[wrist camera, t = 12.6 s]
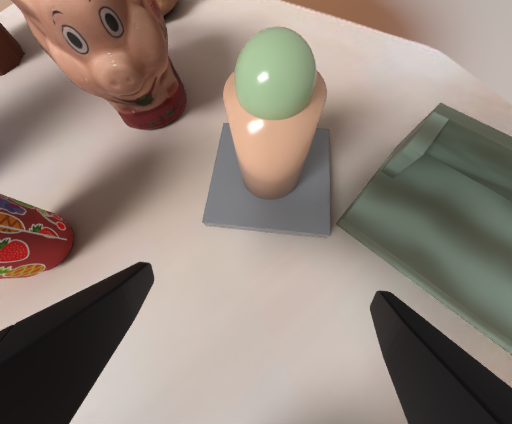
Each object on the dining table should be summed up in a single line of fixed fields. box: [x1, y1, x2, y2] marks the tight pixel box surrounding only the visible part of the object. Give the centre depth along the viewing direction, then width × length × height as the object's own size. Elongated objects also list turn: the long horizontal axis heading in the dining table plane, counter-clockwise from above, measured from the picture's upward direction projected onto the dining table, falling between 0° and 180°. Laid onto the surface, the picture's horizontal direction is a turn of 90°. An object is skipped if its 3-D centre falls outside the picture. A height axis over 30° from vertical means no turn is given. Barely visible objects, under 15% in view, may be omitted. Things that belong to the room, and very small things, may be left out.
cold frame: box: [336, 103, 512, 354], centre depth 17 cm, size 13×21×6 cm, turn 48°
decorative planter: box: [11, 0, 186, 130], centre depth 21 cm, size 20×12×14 cm, turn 33°
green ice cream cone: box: [223, 27, 327, 200], centre depth 15 cm, size 6×6×13 cm
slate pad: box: [202, 123, 330, 238], centre depth 22 cm, size 13×13×2 cm
